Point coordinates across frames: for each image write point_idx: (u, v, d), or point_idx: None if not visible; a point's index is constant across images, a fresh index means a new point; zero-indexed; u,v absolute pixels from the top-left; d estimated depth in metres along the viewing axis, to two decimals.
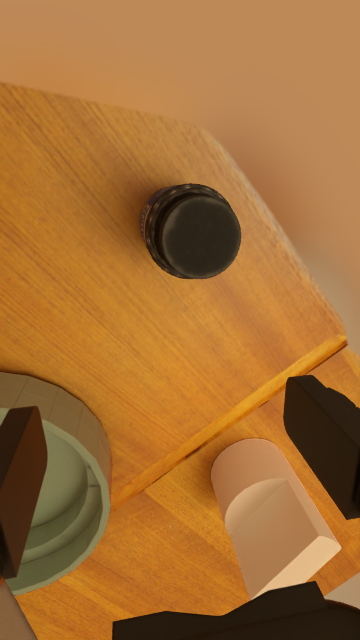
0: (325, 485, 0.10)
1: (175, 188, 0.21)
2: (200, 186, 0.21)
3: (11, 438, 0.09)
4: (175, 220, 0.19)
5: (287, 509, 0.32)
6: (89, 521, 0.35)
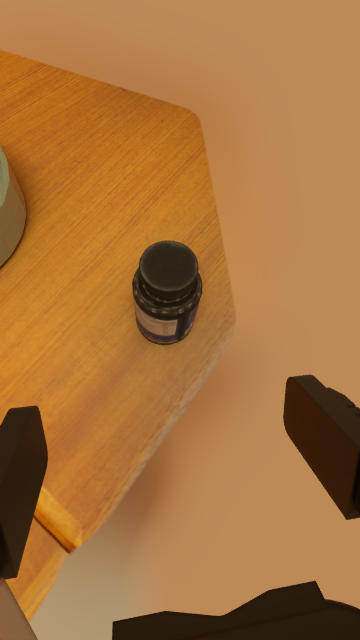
0: (325, 485, 0.10)
1: None
2: (200, 280, 0.30)
3: (11, 438, 0.09)
4: (177, 246, 0.28)
5: None
6: None
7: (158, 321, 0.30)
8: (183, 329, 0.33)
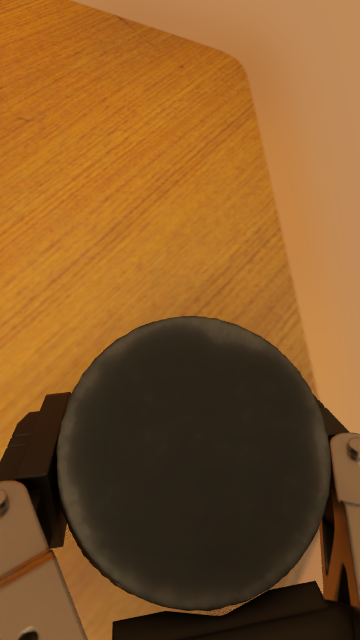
0: None
1: None
2: None
3: (53, 420, 0.09)
4: (233, 344, 0.07)
5: None
6: None
7: None
8: None
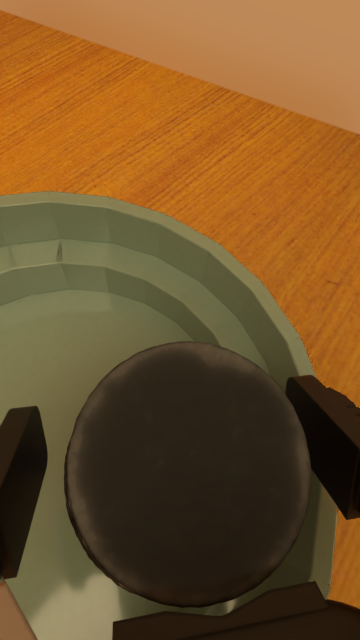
0: (325, 485, 0.10)
1: None
2: None
3: (11, 438, 0.09)
4: (224, 367, 0.07)
5: None
6: None
7: None
8: None
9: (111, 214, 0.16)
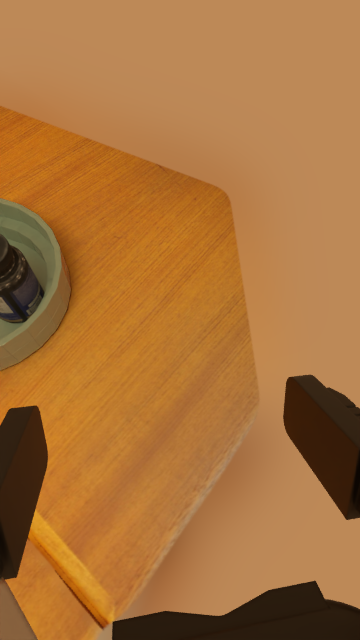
0: (325, 485, 0.10)
1: (22, 254, 0.36)
2: (23, 266, 0.36)
3: (11, 438, 0.09)
4: None
5: None
6: None
7: None
8: (20, 308, 0.39)
9: (0, 204, 0.43)
